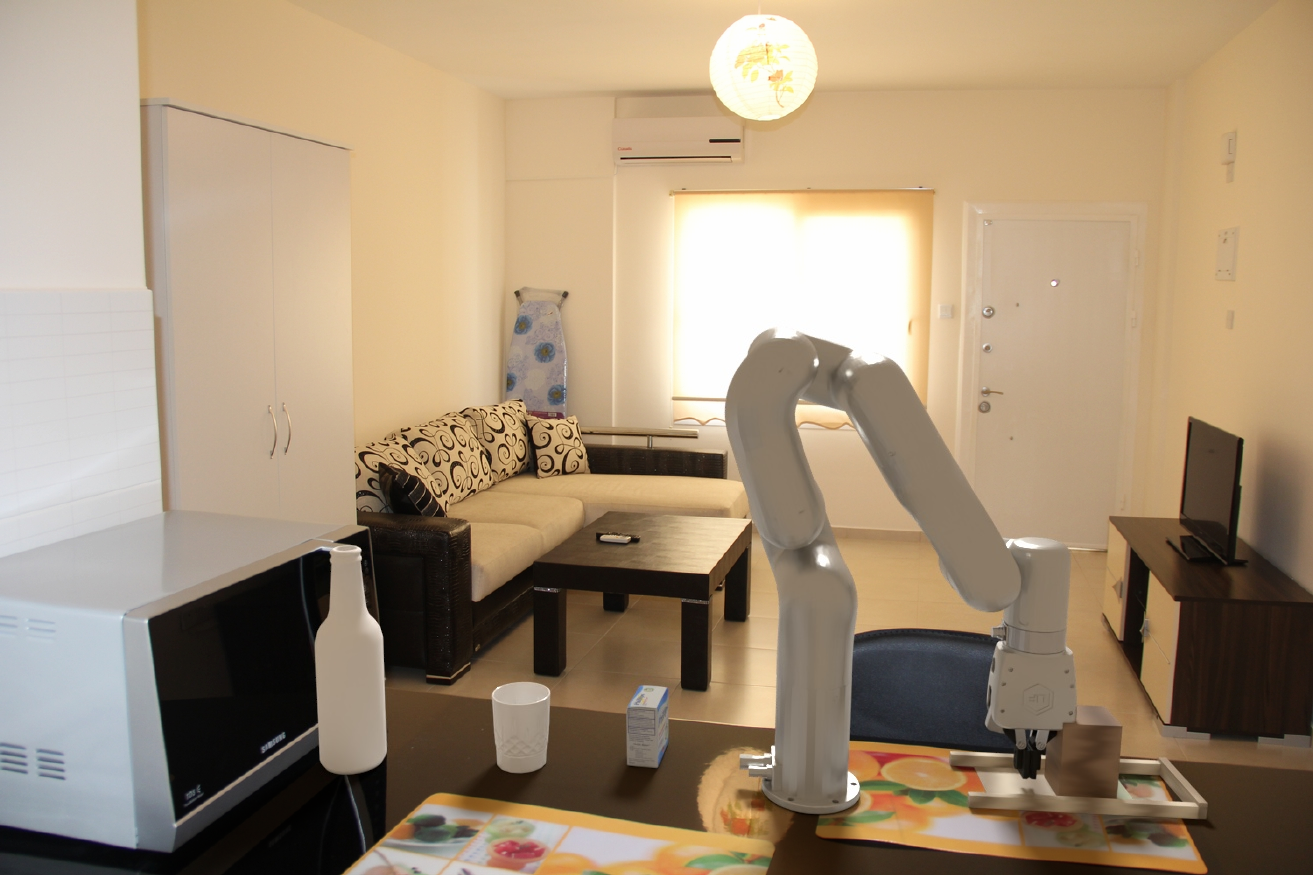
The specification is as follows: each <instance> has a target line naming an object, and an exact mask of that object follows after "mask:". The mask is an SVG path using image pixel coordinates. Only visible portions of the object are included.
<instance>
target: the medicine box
mask: <svg viewBox="0 0 1313 875" xmlns="http://www.w3.org/2000/svg"><path fill="white" fill-rule="evenodd" d="M625 712H626V714H625V715H626V717H625V718H626V719H625V720H626V721H625V722H626V765H627V766H632V767H638V768H639V767H641V768H650V769H651V768H653V769H658V768H659V766H660V763H661V761H662V760H663V756H664V754H665V751H666V749H667V746H668V745H669V688H668V687H667V686H666V687H665V686H661V685H660V686H658V685H645V684H644V685H639V686H638V688H637V690H636V691H635V694H634V695H633V697H632V698H631V700H630V702H629V704H628V705H627V706H626V711H625Z"/></svg>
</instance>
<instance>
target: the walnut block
mask: <svg viewBox="0 0 1313 875" xmlns="http://www.w3.org/2000/svg"><path fill="white" fill-rule="evenodd" d="M1123 727H1124V726H1123V725H1122V724H1121V723H1120V722H1119V720H1118V719H1117V718H1116V717H1115V716H1114V715H1113V714H1112V712H1110V710H1109V709H1108V708H1107V707H1106V706H1105V705H1082V704H1077V718H1076V722H1075V723H1063V730H1060V731H1057V735H1056V736H1055V737H1054V738H1053V739H1052V740H1051V741H1049V742H1048V743H1047V744H1046V747H1045V755H1046V758H1045V773H1044V777H1045V778H1046V780H1047V782H1048V783H1049V785H1050V786H1051V788H1052V790H1053V791H1054V793H1055V794H1056V796H1069V797H1090V798H1110V799H1117V790H1118V780H1119V777H1120V776H1119V775H1120V773H1119V765H1120V759H1121V751H1122V750H1121V748H1122V738H1123V737H1122V736H1123Z"/></svg>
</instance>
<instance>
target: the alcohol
mask: <svg viewBox="0 0 1313 875" xmlns="http://www.w3.org/2000/svg"><path fill="white" fill-rule="evenodd" d="M361 553H362V549H361V547H359V546H357V545H351V544H347V545H338V546H335V547H333V548H332V549H330V551H329V554H330V558H329V562H330V565H331V566H330V571H331V572H330V589H329V590H330V591H329V592H330V594H329V595H330V596H329V609H328V610H329V611H328V614H327V617H326V618H325V619H324V621H323V622H322V623H321V625H320V626H319V628H318V630H317V632H316V637H315V640H314V657H315V658H314V660H315V677H316V678H315V682H316V683H315V684H316V699H317V700H316V703H317V705H316V706H317V722H318V723H317V728H318V747H319V761H320V763H321V764H322V766H323V768H325V770H326V771H328V772H330V773H333V774H336V775H355V774H361V773H365V772H368V771H370V770H371V771H372V770H373V769H375V768H377V767H378V766H379V765H380V764H381V763H382V762H383V761H384V759H385V758H386V755H387V752H388V751H387V750H388V749H387V747H388V743H387V720H386V719H387V715H386V714H387V713H386V691H385V690H386V689H385V686H386V685H385V662H384V658H385V657H384V654H385V653H384V636H383V633H382V632H383V631H382V630H381V626H380V624H379V623H378V622H377V621H376V619H375V618H374V617H373V616H372V615H371V614H370V613H369V611H368V608H367V604H366V596H365V588H364V579H363V572H362V570H363V569H362V564H361V563H362V562H361V561H362V559H363V558H362V555H361Z"/></svg>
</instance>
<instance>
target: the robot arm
mask: <svg viewBox="0 0 1313 875" xmlns="http://www.w3.org/2000/svg"><path fill="white" fill-rule="evenodd" d="M746 354H747V355H746V356H745V358H744V359H743V360H742V362H741V363H740V365H739V366H738V367H737V369H736V371H734V374H733V375H732V378H731V381H730V383H729V386H728V389H727V392H726V396H725V402H724V424H725V428H726V433H727V437H728V438H727V439H728V441H729V444H730V447H731V451H732V453H733V457H734V459H735V463H736V466H737V470H738V474H739V476H740V479H741V482H742V484H743V489H744V490H745V491H744V492H745V493H746V497H747V502H748V507H749V512H750V516H751V519H752V522H753V524H754V526H755V528H756V529H757V532H758V536H759V537H760V541H761V544H762V546H763V549H764V552H765V554H766V558H767V560H768V563H769V566H770V568H771V571H772V575H773V577H774V581H775V585H776V589H777V590H776V591H777V595H778V597H777V598H778V625H777V640H776V641H777V643H776V644H777V645H776V666H775V668H776V670H775V671H776V680H775V681H776V685H775V723H774V724H775V725H774V726H775V727H774V745H771V749H770V750H771V751H770V752H769V753H767V752H764V753H763V755H754V754H750V753H749V754H747V753H739V770H748V777H749V778H761V789H762V791H763V793H764V795H765V796H766V797H767V798H768V799H769V800H770V801H772V803H774V804H776V805H778V806H780V807H781V808H784V809H787V810H790V811H792V812H793V811H794V812H798V813H803V814H809V815H810V814H811V815H812V814H813V815H825V814H828V815H829V814H834V813H838V812H842V811H845V810H847V809H849V808H851V807H853V806H854V805H855V804H856V803H857V801H858V800H859V799H860V796H861V795H860V794H861V786H860V782H859V780H858V779H857V777H856V776H854V774H852V772H850V771H849V763H850V762H849V760H850V759H849V758H850V733H851V730H850V728H851V708H852V682H853V678H852V675H853V673H852V672H853V654H854V652H853V651H854V643H855V642H854V641H855V631H856V626H857V617H858V607H859V606H858V604H859V603H858V602H859V601H858V599H859V598H858V592H857V587H856V583H855V580H854V577H853V575H852V573H851V571H850V569H849V567H848V565H847V563H846V562H845V560H844V558H843V555H842V553H841V551H840V549H839V546H838V543H837V541H836V537H835V534H834V532H833V531H834V530H833V529H832V526H831V523H830V520H829V517H828V513H827V511H826V504H825V503H826V502H825V498H824V495H823V493H822V490H821V488H820V486H819V484H818V482H817V481H816V479H815V476H814V474H813V472H812V469H811V467H810V463H809V461H808V458H807V454H806V452H805V450H804V446H803V442H802V438H801V436H800V432H799V430H798V427H797V422H796V408H797V406H798V405H797V404H798V402H799V399H800V400H802V401H806V402H809V403H813V404H816V405H820V406H823V407H826V408H830V409H834V410H836V411H842V412H845V413H846V415H847V417H848V419H849V421H850V422H851V425H853V427H854V429H855V432H857V434H858V436H859V438H860V439H861V441H862V443H863V444H864V446H865V448H866V450H867V451H868V453H869V455H870V456H871V458H872V460H873V462H874V464H875V466H876V467H877V468H878V470H879V472H880V474H881V476H882V477H883V479H884V481H885V483H886V485H887V486H888V488H889V489H890V491H891V493H893V495H894V497H895V498H896V500H897V501H898V503H899V504H900V505H901V506H902V508H903V509H904V510H905V511H906V512H907V513H908V515H910V517H911V518H912V519H913V520H914V521H915V523H916V524H917V525H918V527H919V528H920V529H921V531H922V532H923V534H924V535H925V537H926V538H927V540H928V542H929V543H930V545H931V546H932V548H933V550H934V551H935V553H936V554H937V556H938V567H939V570H940V573H941V574H942V576H943V578H944V579H945V581H947V583H948V584H949V586H951V588H952V589H953V590H954V591H955V592H956V593H957V595H958V596H959V597H960V598H961V600H962V601H963V602H964V603H966V605H968V606H969V607H971V608H972V609H974V610H976V611H979V612H983V613H996V612H997V613H998V612H1001V611H1003V616H1002V617H1003V618H1002V619H1001V623H1000V624H999V625H997V626H991V627H990V636H991V638H997V639H999V641H998V642H997V643H996V645H995V649H994V652H993V656H992V660H991V661H992V662H991V665H990V671H989V676H988V683H987V691H986V692H987V693H986V708H987V714H986V718H985V721H984V725H985V726H986V728H987V729H988V731H990V732H995V733H998V734H1003V735H1005V736H1006V737H1007V738H1008V739H1009V740H1010V741H1011V742H1012V743H1013V754H1014V758H1013V764H1014V768H1015V769H1017V770H1018V771H1019V773H1020V775H1021V777H1022V778H1023V779H1028V778H1031V779H1036V776H1037V770H1040V769H1041V755H1042V750H1045V749H1046V744H1047V743H1048V742H1049V741H1051V740H1052V739H1053V738H1054V737H1055V736H1056V735H1057V731H1060V730H1063V723H1075V722H1076V718H1077V705H1078V697H1077V696H1078V695H1077V694H1078V693H1077V676H1076V667H1075V665H1076V664H1075V658H1074V653H1073V650H1071V649H1070V648H1069V647H1068V646H1067V636H1068V635H1067V634H1068V617H1069V602H1070V585H1071V584H1070V583H1071V569H1072V553H1071V551H1070V548H1069V547H1068V545H1066V544H1065V543H1063V542H1061V541H1059V540H1055V539H1052V538H1048V537H1047V538H1046V537H1037V536H1035V537H1034V536H1026V537H1020V538H1008V537H1003V536H1002V535H1001V533H1000V530H999V529H998V528H997V526H996V524H995V523H994V521H993V520H992V518H991V516H990V514H989V513H988V511H987V509H986V508H985V507H984V504H982V502H981V500H980V499H979V498H978V496H977V494H976V492H975V491H974V490H973V488H972V487H971V485H970V483H969V481H968V479H967V477H966V475H965V474H964V472H963V470H962V469H961V467H960V466H959V464H958V462H957V461H956V460H955V457H954V456H953V455H952V453H951V451H950V449H949V447H948V446H947V444H946V443H945V441H944V439H943V438H942V435H941V434H940V432H939V431H938V429H937V427H936V426H935V423H934V422H933V420H932V419H931V417H930V414H929V413H928V411H927V409H926V408H925V406H924V404H923V402H922V400H921V399H920V396H918V394H917V392H916V389H915V388H914V386H913V385H912V383H911V381H910V380H909V378H908V376H907V375H906V373H905V372H904V370H903V369H902V368H901V366H900V364H898V362H896V361H895V360H893V359H891V358H890V357H888V356H885V355H881V354H879V353H876V352H871V351H868V350H863V349H859V348H855V347H852V346H847V345H843V344H840V343H837V342H834V341H830V340H827V339H824V338H821V337H818V336H814V335H811V334H808V333H805V332H802V331H799V330H795V329H793V328H788V327H783V326H780V327H779V326H777V327H771V328H769V329H766V330H763V331H762V332H760V333H759V334H758V335H757V336H756V337H755V338H754V339H753V340H752V341H751V343H750V345H749V348H748V351H747V353H746ZM1027 730H1028V731H1030V734H1029V737H1028V739H1027V738H1026V731H1027Z"/></svg>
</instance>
